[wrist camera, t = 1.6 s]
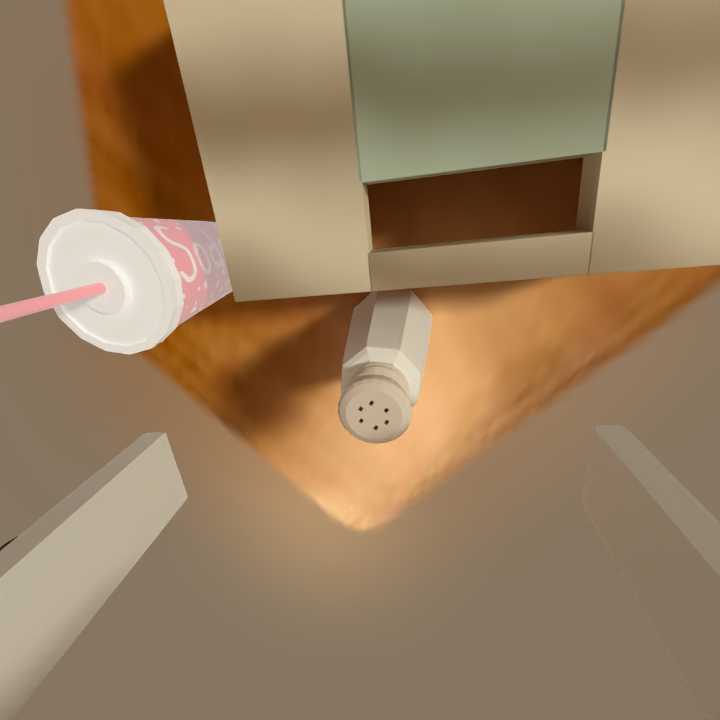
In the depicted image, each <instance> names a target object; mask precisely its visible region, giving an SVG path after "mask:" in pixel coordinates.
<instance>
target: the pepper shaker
mask: <svg viewBox="0 0 720 720" xmlns="http://www.w3.org/2000/svg"><path fill="white" fill-rule="evenodd" d="M432 318H433V315H432V314H431V312H430V311H429V310H428V309H427V308H426V306H425V305H424V304H423V303H422V302H421V300H420V299H419V298H418V297H417V295H416V294H415V293H414V292H413V291H412V290H407V289H397V290H384V291H373V292H372V293H371V294H369V295H368V296H367V297H366V298H365V299H364V300H362V301H361V302H360V303H359V304H358V305H356V306H355V307H354V309H353V313H352V318H351V323H350V328H349V332H348V337H347V342H346V347H345V351H344V356H343V365H342V379H341V394H342V395H341V398H340V400H339V403H338V414H339V418H340V421H341V423H342V424H343V426H344V428H345V429H346V430H347V431H348V432H349V433H350V434H351V435H353V436H354V437H356V438H358V439H360V440H362V441H365V442H369V443H386V442H389V441H392V440H395V439H396V438H398V437H399V436H401V435H402V434H403V433H404V432H405V431H406V430H407V428H408V426H409V424H410V422H411V416H412V409H411V407H412V406H413V405H415V404H416V403H417V401H418V398H419V394H420V389H421V383H422V378H423V373H424V367H425V362H426V357H427V351H428V346H429V339H430V332H431V325H432Z"/></svg>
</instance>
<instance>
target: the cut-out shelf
mask: <svg viewBox="0 0 720 720" xmlns="http://www.w3.org/2000/svg"><path fill="white" fill-rule="evenodd" d="M164 4H165V8H166V13H167V17H168V21H169V25H170V30H171V34H172V38H173V42H174V46H175V51H176V55H177V59H178V63H179V67H180V72H181V76H182V80H183V84H184V88H185V93H186V97H187V101H188V105H189V110H190V114H191V118H192V122H193V126H194V131H195V135H196V139H197V143H198V147H199V152H200V156H201V160H202V164H203V168H204V173H205V177H206V181H207V185H208V190H209V194H210V198H211V202H212V206H213V211H214V215H215V219H216V223H217V227H218V232H219V236H220V240H221V244H222V248H223V253H224V257H225V261H226V265H227V270H228V274H229V278H230V282H231V286H232V291H233V295H234V299H235V302H241V301H254V300H267V299H280V298H293V297H306V296H319V295H332V294H345V293H358V292H371V291H384V290H397V289H410V288H423V287H436V286H449V285H462V284H475V283H488V282H501V281H514V280H526V279H539V278H552V277H565V276H578V275H591V274H604V273H617V272H630V271H643V270H656V269H669V268H682V267H695V266H708V265H720V0H164ZM582 157H583V166H582V175H581V185H580V194H579V203H578V212H577V221H576V230H565V231H555V232H545V233H535V234H524V235H514V236H504V237H493V238H483V239H473V240H462V241H452V242H442V243H431V244H421V245H411V246H400V247H390V248H380V249H373V245H372V234H371V223H370V212H369V201H368V189H367V185H370V184H377V183H385V182H393V181H401V180H409V179H417V178H425V177H432V176H440V175H448V174H456V173H464V172H472V171H480V170H487V169H495V168H503V167H511V166H519V165H527V164H535V163H542V162H550V161H558V160H566V159H574V158H582Z"/></svg>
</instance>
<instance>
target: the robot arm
mask: <svg viewBox="0 0 720 720" xmlns="http://www.w3.org/2000/svg"><path fill="white" fill-rule="evenodd" d="M187 498H188V496H187V493H186V490H185V488H184V485H183V482H182V479H181V476H180V473H179V470H178V468H177V464H176V462H175V459H174V456H173V453H172V450H171V447H170V444H169V441H168V438H167V435H166V433H165V432H154V433H153V432H149V433H144V434H143V435H141V436H140V437H139V438H138V439H137V440H135V441H134V442H133V443H132V444H131V445H129V446H128V447H127V448H126V449H124V450H123V451H122V452H121V453H119V454H118V455H117V456H116V457H115V458H113V459H112V460H111V461H110V462H109V463H107V464H106V465H105V466H104V467H102V468H101V469H100V470H99V471H97V472H96V473H95V474H94V475H93V476H91V477H90V478H89V479H88V480H86V481H85V482H84V483H83V484H82V485H80V486H79V487H78V488H77V489H76V490H74V491H73V492H72V493H71V494H69V495H68V496H67V497H66V498H64V499H63V500H62V501H61V502H60V503H58V504H57V505H56V506H55V507H53V508H52V509H51V510H50V511H49V512H47V513H46V514H45V515H44V516H42V517H41V518H40V519H39V520H37V521H36V522H35V523H34V524H33V525H31V526H30V527H29V528H28V529H27V530H25V531H24V532H23V533H22V534H20V535H19V536H17V537H16V538H14V539H12V540H11V541H9V542H7V543H6V544H4V545H3V546H2V547H1V548H0V720H12V718H13V717H14V716H15V715H16V713H17V712H18V710H19V709H20V708H21V707H22V706H23V704H24V703H25V702H26V701H27V699H28V698H29V697H30V696H31V694H32V693H33V692H34V691H35V689H36V688H37V687H38V686H39V684H40V683H41V682H42V681H43V679H44V678H45V677H46V675H47V674H48V673H49V672H50V670H51V669H52V668H53V667H54V665H55V664H56V663H57V662H58V660H59V659H60V658H61V657H62V655H63V654H64V653H65V652H66V650H67V649H68V648H69V647H70V645H71V644H72V643H73V641H74V640H75V639H76V638H77V636H78V635H79V634H80V632H81V631H82V630H83V629H84V628H85V626H86V625H87V624H88V623H89V621H90V620H91V619H92V618H93V616H94V615H95V614H96V612H97V611H98V610H99V609H100V607H101V606H102V605H103V604H104V602H105V601H106V600H107V598H108V597H109V596H110V595H111V594H112V592H113V591H114V590H115V589H116V587H117V586H118V585H119V583H120V582H121V581H122V580H123V579H124V577H125V576H126V575H127V573H128V572H129V571H130V570H131V568H132V567H133V566H134V564H135V563H136V562H137V561H138V560H139V558H140V557H141V556H142V554H143V553H144V552H145V551H146V550H147V548H148V547H149V546H150V545H151V543H152V542H153V541H154V539H155V538H156V537H157V536H158V534H159V533H160V532H161V531H162V529H163V528H164V527H165V526H166V524H167V523H168V522H169V521H170V519H171V518H172V517H173V516H174V514H175V513H176V512H177V511H178V509H179V508H180V507H181V505H182V504H183V503H184V502H185V500H186V499H187ZM581 505H582V506H583V508H584V510H585V511H586V513H587V515H588V517H589V519H590V520H591V522H592V524H593V526H594V527H595V529H596V531H597V533H598V534H599V536H600V538H601V540H602V541H603V543H604V545H605V546H606V548H607V550H608V552H609V554H610V555H611V557H612V559H613V560H614V562H615V564H616V566H617V567H618V569H619V571H620V573H621V574H622V576H623V578H624V580H625V581H626V583H627V585H628V587H629V588H630V590H631V592H632V594H633V595H634V597H635V599H636V600H637V602H638V604H639V606H640V608H641V609H642V611H643V613H644V615H645V616H646V618H647V620H648V621H649V623H650V625H651V627H652V628H653V630H654V632H655V634H656V635H657V637H658V639H659V641H660V642H661V644H662V646H663V648H664V649H665V651H666V653H667V655H668V656H669V658H670V660H671V662H672V663H673V665H674V667H675V669H676V670H677V672H678V674H679V675H680V677H681V679H682V681H683V682H684V684H685V686H686V687H687V689H688V691H689V693H690V694H691V696H692V698H693V700H694V702H695V703H696V705H697V707H698V709H699V710H700V712H701V714H702V716H703V717H704V719H705V720H720V523H719V522H718V521H717V520H716V519H715V518H714V517H713V516H712V515H711V514H710V513H709V512H708V511H707V510H706V509H705V508H704V507H703V506H702V505H701V504H700V503H699V501H698V500H697V499H696V498H695V497H694V496H693V495H692V494H691V493H690V492H689V491H688V490H687V489H686V488H685V487H684V486H683V485H682V484H681V483H680V482H679V481H678V480H677V479H676V478H675V477H674V476H673V475H672V474H671V473H670V472H669V471H668V470H667V469H666V468H665V467H664V466H663V465H662V464H661V463H660V462H659V461H658V460H657V459H656V458H655V457H654V456H653V455H652V454H651V453H650V452H649V451H648V450H647V449H646V448H645V447H644V446H643V445H642V444H641V443H640V442H639V441H638V440H637V439H636V438H635V437H634V436H633V435H632V434H631V433H630V431H629V430H628V429H626V428H625V426H624V425H609V426H593V427H592V434H591V441H590V448H589V454H588V461H587V468H586V475H585V482H584V489H583V496H582V502H581Z"/></svg>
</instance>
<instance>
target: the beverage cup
mask: <svg viewBox="0 0 720 720" xmlns="http://www.w3.org/2000/svg"><path fill="white" fill-rule="evenodd" d="M37 268H38V272H39V275H40V279H41V283H42V287H43V291H44V293H45V295H44V296H40V297H36V298H32V299H28V300H24V301H20V302H15V303H11V304H7V305H4V306H0V322H4V321H7V320H11V319H14V318H18V317H21V316H25V315H29V314H32V313H36V312H40V311H43V310H47V309H50V308H54V310H55V311H56V313H57V315H58V316H59V318H60V319H61V320H62V321H63V322H64V323H65V324H66V325H67V326H68V327H69V328H71V329H72V330H73V331H74V332H75V333H76V334H77V335H78V336H79V337H80V338H81V339H83V340H85V341H87V342H89V343H91V344H93V345H95V346H97V347H99V348H101V349H103V350H105V351H109V352H116V353H123V354H133V353H137V352H140V351H144V350H147V349H151V348H153V347H155V346H156V345H157V344H158V343H160V342H162V341H163V340H164V339H165V338H166V337H167V336H168V335H169V334H170V333H171V332H172V331H174V330H175V329H176V328H177V326H178V325H179V324H181V323H182V322H184V321H186V320H187V319H189V318H190V317H192V316H194V315H195V314H197V313H198V312H200V311H202V310H203V309H205V308H206V307H208V306H210V305H211V304H213V303H214V302H216V301H218V300H219V299H221V298H222V297H224V296H226V295H227V294H229V293H230V292H232V286H231V282H230V278H229V274H228V270H227V265H226V261H225V257H224V253H223V248H222V244H221V240H220V236H219V232H218V227H217V223H216V222H207V221H192V220H172V219H152V218H132V217H128V216H126V215H124V214H122V213H120V212H113V211H104V210H94V209H92V210H90V209H74V210H72V211H70V212H67V213H65V214H63V215H60V216H58V217H55V218H53V220H52V221H51V223H50V224H49V225H48V227H47V228H46V230H45V231H44V233H43V234H42V236H41V237H40V240H39V250H38V257H37Z"/></svg>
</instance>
